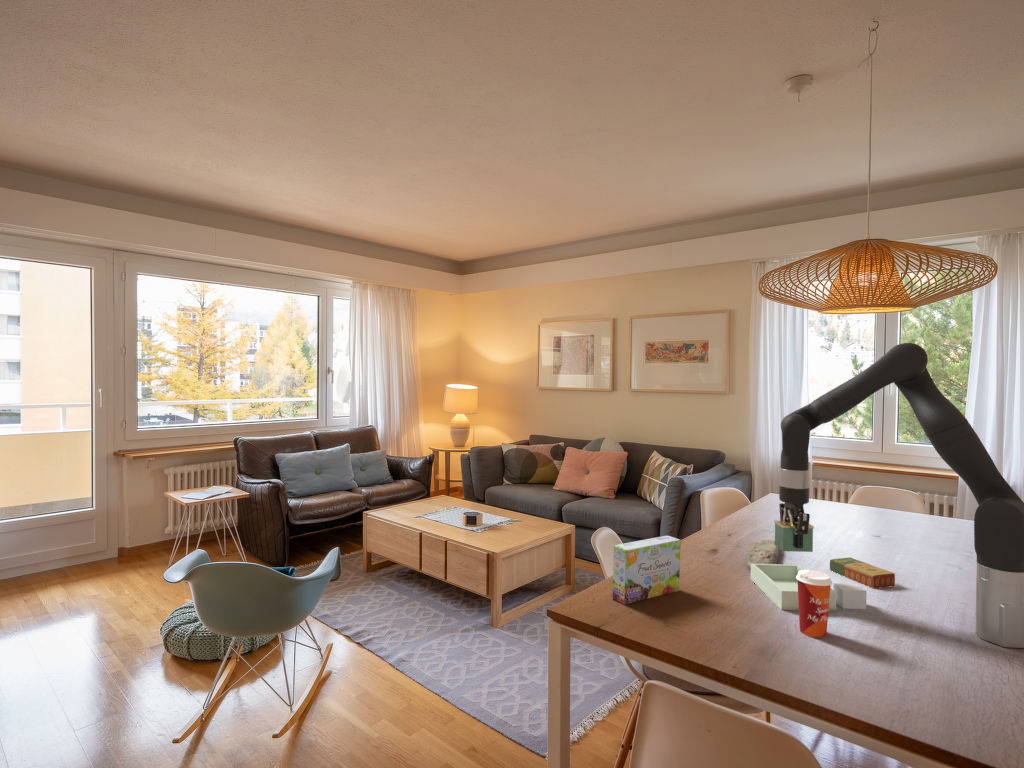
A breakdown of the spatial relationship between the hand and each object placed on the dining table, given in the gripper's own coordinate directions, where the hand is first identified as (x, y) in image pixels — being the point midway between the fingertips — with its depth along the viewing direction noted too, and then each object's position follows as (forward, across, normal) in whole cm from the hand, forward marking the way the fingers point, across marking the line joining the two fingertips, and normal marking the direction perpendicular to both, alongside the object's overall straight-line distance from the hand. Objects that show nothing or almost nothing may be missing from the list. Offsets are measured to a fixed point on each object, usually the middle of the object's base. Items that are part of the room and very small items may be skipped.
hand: (793, 544), depth 158 cm
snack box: (+14, -4, +41) cm, 44 cm away
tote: (+14, 0, +1) cm, 14 cm away
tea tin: (+1, 0, 0) cm, 1 cm away
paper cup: (+14, -24, +6) cm, 29 cm away
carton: (+15, +16, -27) cm, 35 cm away
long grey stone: (+15, +32, -4) cm, 35 cm away
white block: (+14, -6, -12) cm, 20 cm away
